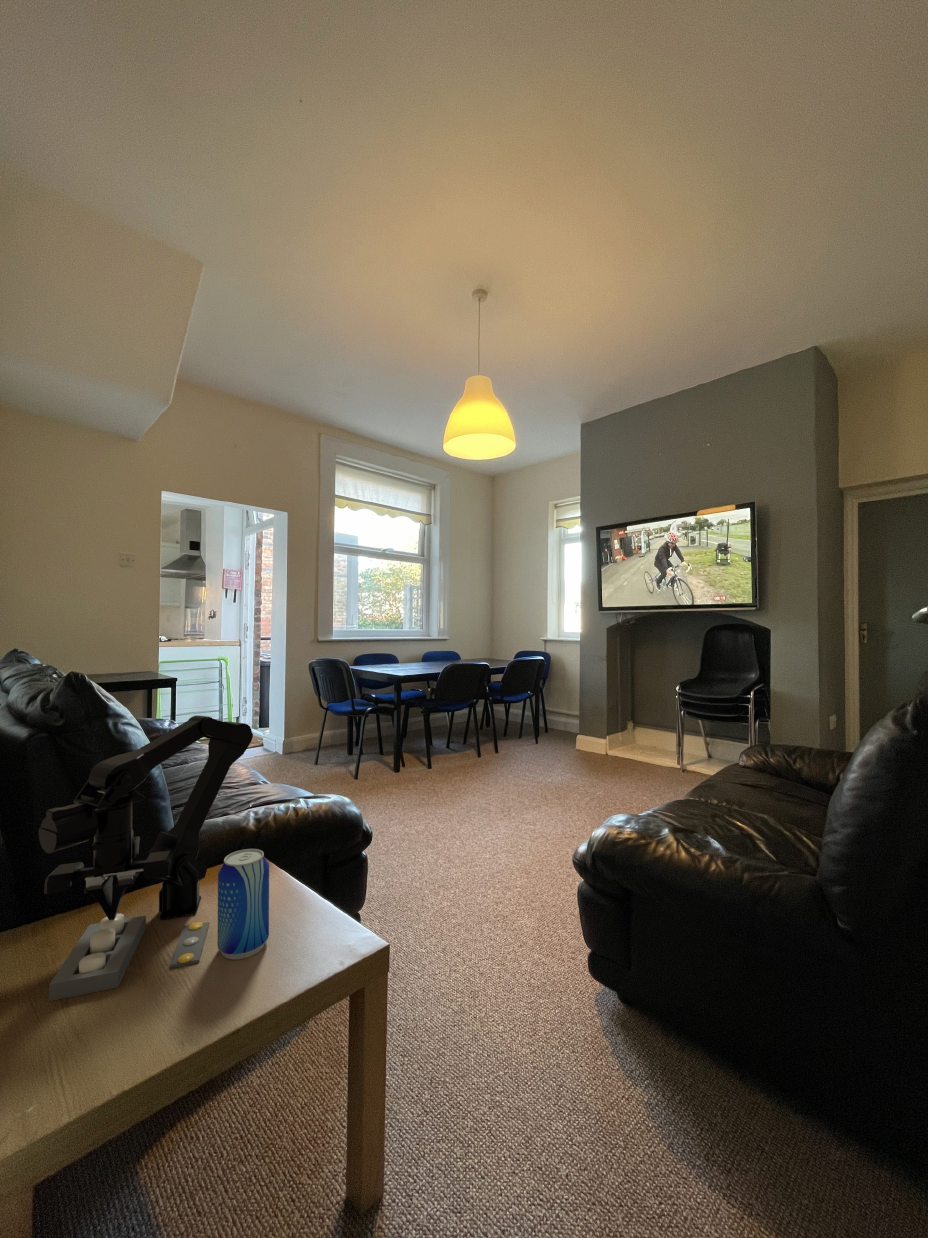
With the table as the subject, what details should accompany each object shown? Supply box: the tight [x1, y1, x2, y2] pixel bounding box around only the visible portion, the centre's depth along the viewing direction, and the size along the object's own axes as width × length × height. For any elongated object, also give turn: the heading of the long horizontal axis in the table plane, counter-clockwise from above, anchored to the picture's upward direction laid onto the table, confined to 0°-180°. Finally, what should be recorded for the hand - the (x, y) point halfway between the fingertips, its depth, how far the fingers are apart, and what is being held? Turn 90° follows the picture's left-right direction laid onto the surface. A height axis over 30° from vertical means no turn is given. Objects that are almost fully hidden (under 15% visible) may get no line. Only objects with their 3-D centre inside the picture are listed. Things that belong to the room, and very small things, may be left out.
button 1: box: [79, 952, 106, 974], centre depth 83 cm, size 4×4×2 cm
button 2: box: [99, 913, 125, 936], centre depth 93 cm, size 4×4×2 cm
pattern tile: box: [169, 921, 210, 969], centre depth 92 cm, size 4×12×1 cm, turn 19°
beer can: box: [216, 848, 270, 961], centre depth 92 cm, size 8×8×16 cm
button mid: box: [90, 928, 115, 954], centre depth 88 cm, size 4×4×2 cm
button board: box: [48, 915, 147, 1002], centre depth 88 cm, size 9×17×2 cm, turn 19°
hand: (112, 918), depth 93 cm, fingers closed
